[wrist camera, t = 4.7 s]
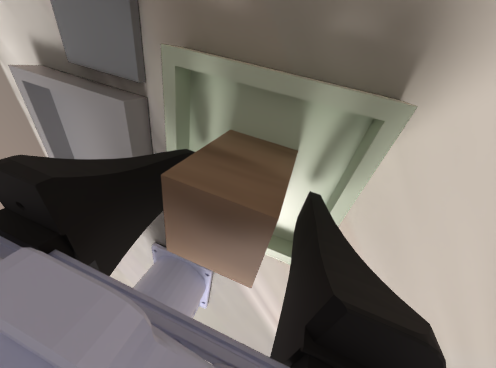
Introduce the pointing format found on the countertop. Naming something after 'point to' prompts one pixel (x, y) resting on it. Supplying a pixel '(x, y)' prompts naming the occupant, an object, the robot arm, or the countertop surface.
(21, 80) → the grey tray
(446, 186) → the countertop surface
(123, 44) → the slate coaster
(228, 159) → the walnut block
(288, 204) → the green tray
